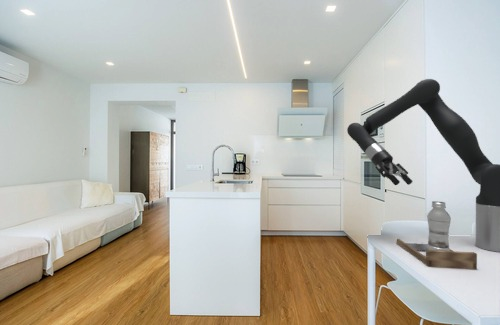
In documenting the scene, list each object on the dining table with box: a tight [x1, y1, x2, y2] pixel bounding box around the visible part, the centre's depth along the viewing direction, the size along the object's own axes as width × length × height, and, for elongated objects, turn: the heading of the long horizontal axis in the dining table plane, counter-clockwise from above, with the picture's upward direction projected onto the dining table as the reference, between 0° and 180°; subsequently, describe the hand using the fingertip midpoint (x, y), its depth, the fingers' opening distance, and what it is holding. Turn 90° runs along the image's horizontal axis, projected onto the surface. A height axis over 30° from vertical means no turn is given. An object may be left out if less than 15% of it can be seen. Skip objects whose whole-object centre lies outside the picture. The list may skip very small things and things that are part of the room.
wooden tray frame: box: [396, 238, 478, 270], centre depth 87 cm, size 14×22×5 cm, turn 172°
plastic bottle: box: [426, 200, 452, 251], centre depth 83 cm, size 6×7×20 cm
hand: (404, 183), depth 96 cm, fingers open, 8 cm apart
